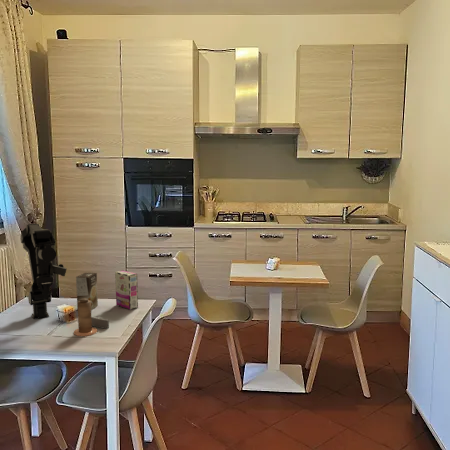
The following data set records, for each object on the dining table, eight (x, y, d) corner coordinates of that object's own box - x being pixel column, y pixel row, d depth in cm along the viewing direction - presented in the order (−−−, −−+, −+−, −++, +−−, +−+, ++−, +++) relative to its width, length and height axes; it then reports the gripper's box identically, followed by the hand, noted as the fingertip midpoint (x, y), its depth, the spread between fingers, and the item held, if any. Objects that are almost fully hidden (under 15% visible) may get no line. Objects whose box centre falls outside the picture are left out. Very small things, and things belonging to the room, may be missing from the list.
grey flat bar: (86, 324, 203) (86, 316, 202) (88, 324, 204) (87, 316, 203) (107, 328, 198) (107, 320, 198) (109, 328, 199) (108, 319, 199)
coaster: (72, 330, 196) (71, 329, 196) (94, 326, 201) (94, 325, 200) (76, 337, 189) (76, 336, 188) (99, 333, 193) (99, 332, 193)
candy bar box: (138, 307, 225) (137, 273, 223) (130, 310, 222) (129, 275, 219) (124, 302, 233) (123, 269, 230) (115, 305, 229) (114, 271, 227)
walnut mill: (80, 328, 197) (79, 297, 195) (93, 328, 197) (92, 297, 195) (77, 333, 192) (75, 301, 190) (90, 332, 192) (88, 301, 190)
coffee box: (90, 311, 220) (88, 277, 217) (77, 311, 221) (75, 277, 218) (98, 305, 229) (96, 272, 226) (85, 305, 230) (84, 272, 227)
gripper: (64, 260, 192) (68, 298, 192) (64, 256, 209) (67, 292, 210) (34, 263, 188) (38, 302, 189) (37, 259, 206) (40, 295, 206)
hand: (47, 297), depth 198 cm, fingers open, 9 cm apart
